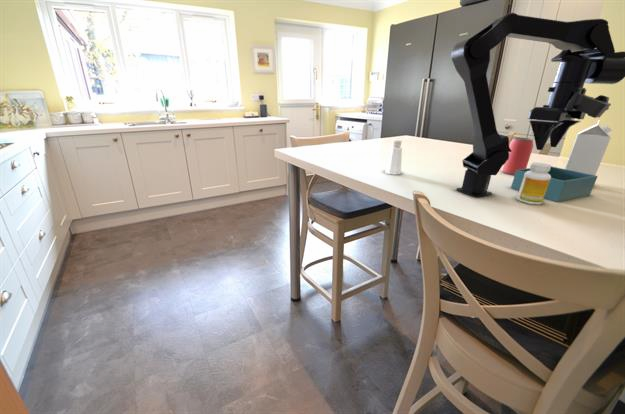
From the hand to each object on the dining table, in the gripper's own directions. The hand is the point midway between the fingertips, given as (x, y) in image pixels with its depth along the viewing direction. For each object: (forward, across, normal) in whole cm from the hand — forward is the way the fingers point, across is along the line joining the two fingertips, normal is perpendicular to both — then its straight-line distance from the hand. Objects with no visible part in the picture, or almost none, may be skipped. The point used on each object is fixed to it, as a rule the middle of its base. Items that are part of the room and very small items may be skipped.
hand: (546, 148), depth 74 cm
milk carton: (+13, +24, -3) cm, 28 cm away
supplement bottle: (+13, -7, -2) cm, 15 cm away
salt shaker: (+13, -16, +35) cm, 41 cm away
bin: (+13, +8, -2) cm, 15 cm away
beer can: (+13, +20, +13) cm, 27 cm away
